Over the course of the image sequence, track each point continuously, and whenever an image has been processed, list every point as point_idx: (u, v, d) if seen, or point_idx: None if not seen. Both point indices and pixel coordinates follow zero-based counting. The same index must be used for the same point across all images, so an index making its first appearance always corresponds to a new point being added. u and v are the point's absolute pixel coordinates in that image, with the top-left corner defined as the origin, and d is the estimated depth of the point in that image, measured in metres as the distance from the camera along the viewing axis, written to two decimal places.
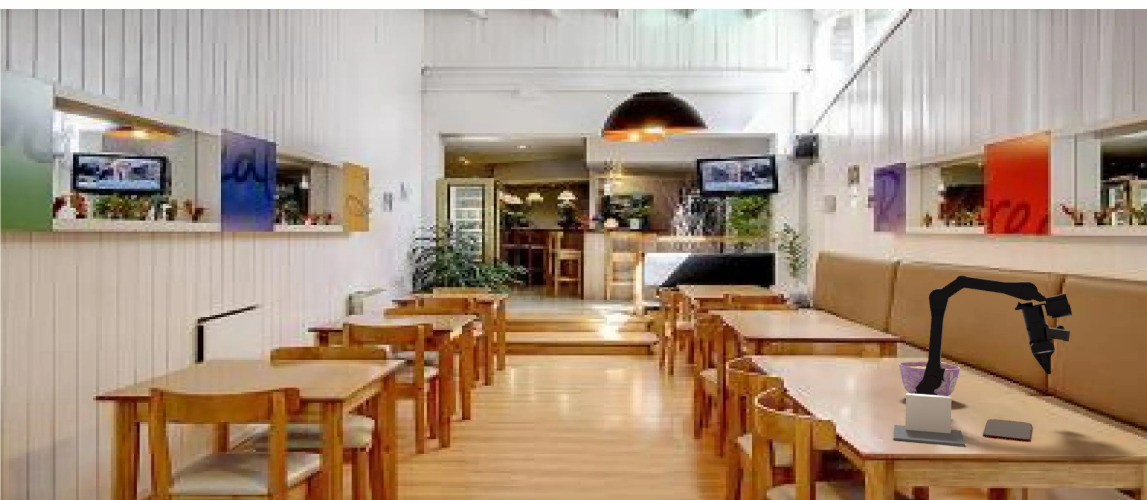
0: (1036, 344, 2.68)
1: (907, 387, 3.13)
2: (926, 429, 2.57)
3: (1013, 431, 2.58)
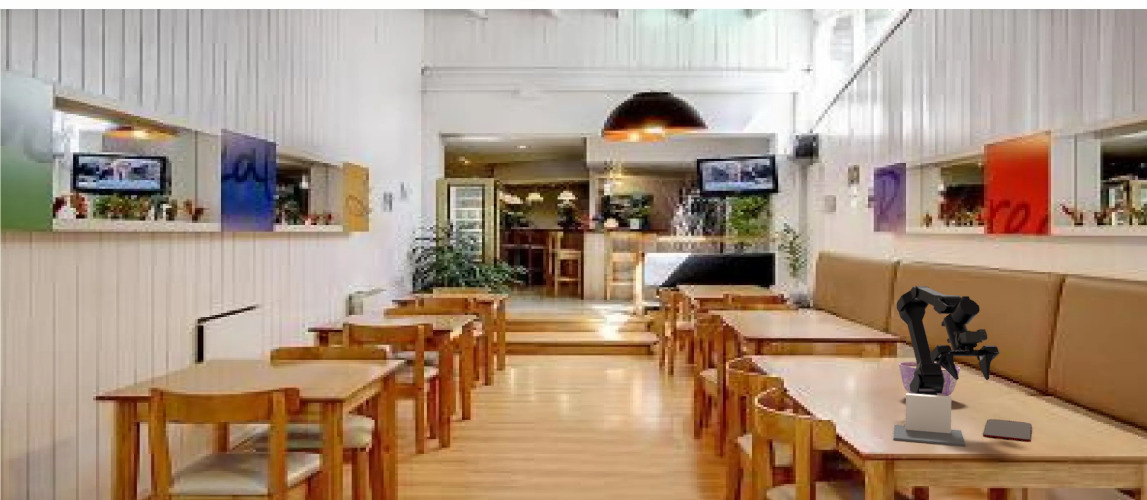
0: None
1: (907, 387, 3.13)
2: (926, 429, 2.57)
3: (1013, 431, 2.58)
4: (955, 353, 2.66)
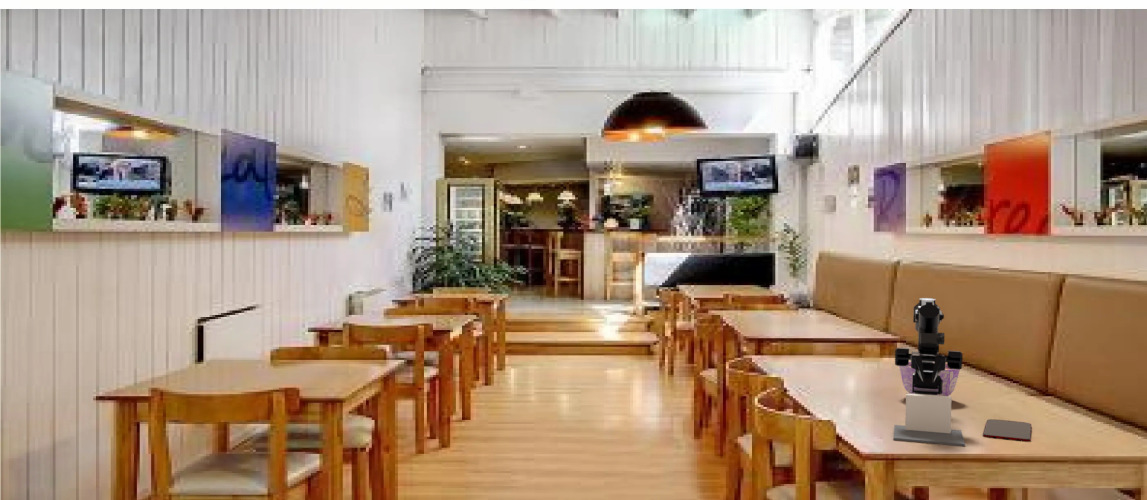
0: None
1: (907, 387, 3.13)
2: (926, 429, 2.57)
3: (1013, 431, 2.58)
4: None
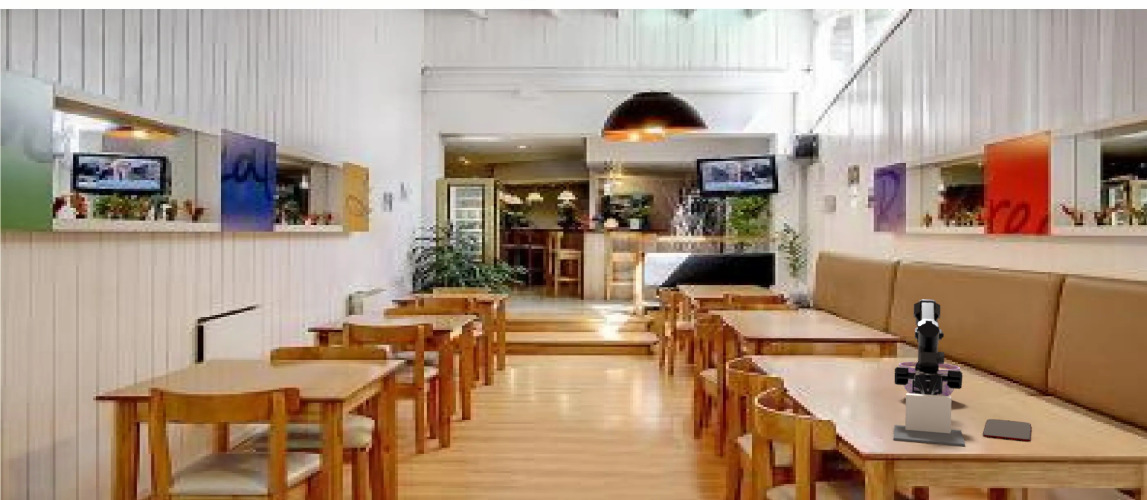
0: None
1: (907, 387, 3.13)
2: (926, 429, 2.57)
3: (1013, 431, 2.58)
4: None
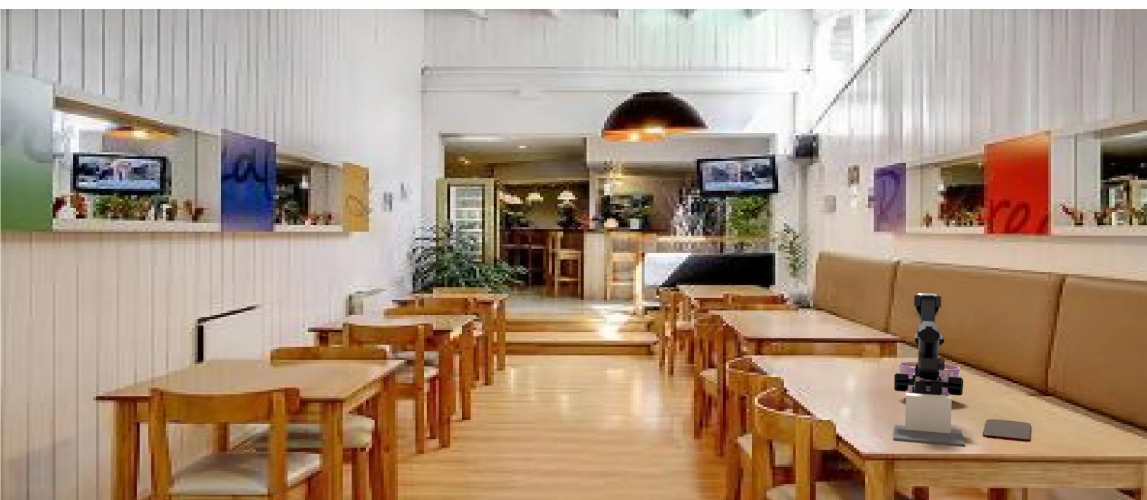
0: None
1: None
2: (926, 429, 2.57)
3: (1012, 431, 2.58)
4: None
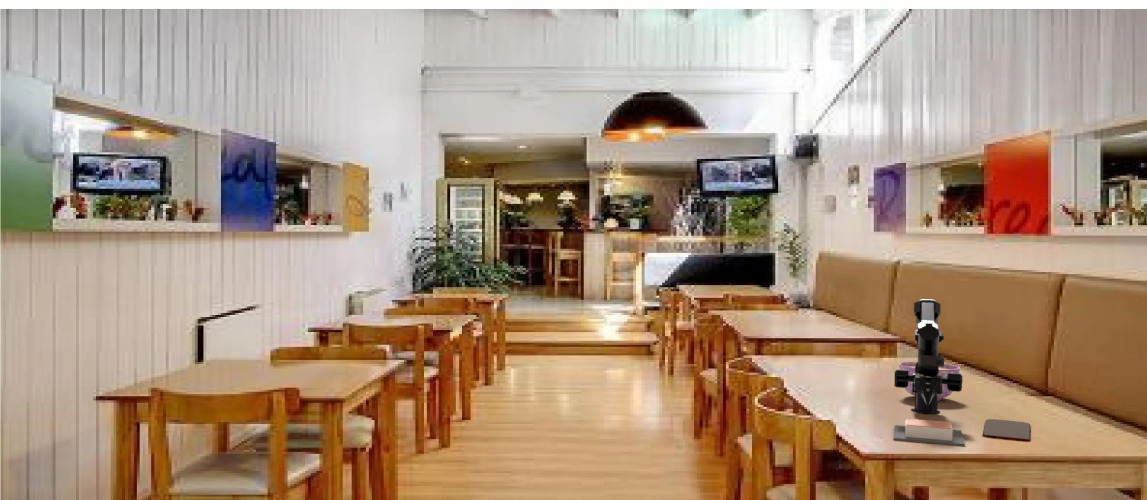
0: None
1: (907, 387, 3.13)
2: None
3: (1012, 431, 2.58)
4: None
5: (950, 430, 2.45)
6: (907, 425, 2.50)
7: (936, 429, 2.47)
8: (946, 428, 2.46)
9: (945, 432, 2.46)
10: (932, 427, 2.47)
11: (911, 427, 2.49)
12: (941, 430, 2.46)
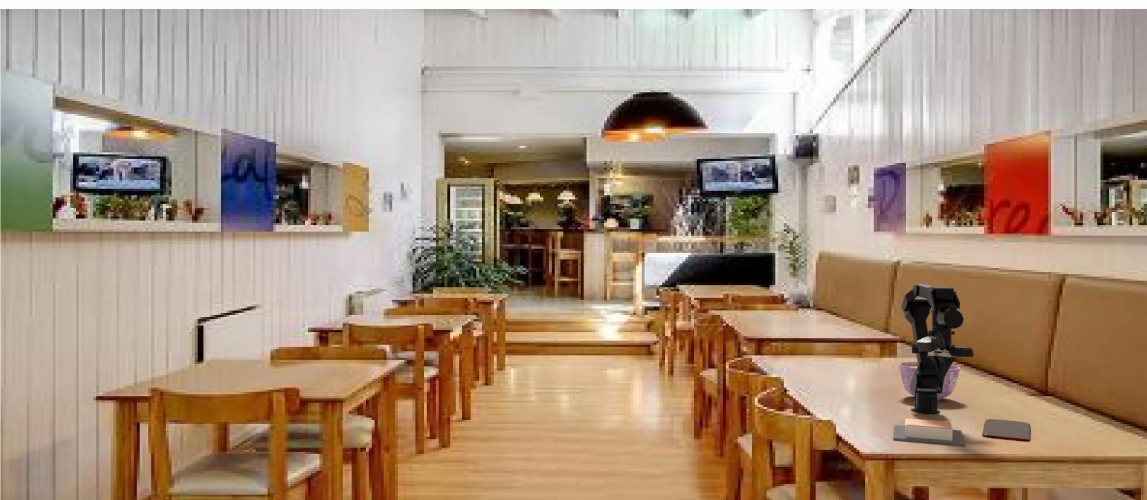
0: None
1: (907, 387, 3.13)
2: None
3: (1012, 431, 2.58)
4: None
5: (950, 430, 2.45)
6: (907, 425, 2.50)
7: (936, 429, 2.47)
8: (946, 428, 2.46)
9: (945, 432, 2.46)
10: (932, 427, 2.47)
11: (911, 427, 2.49)
12: (941, 430, 2.46)
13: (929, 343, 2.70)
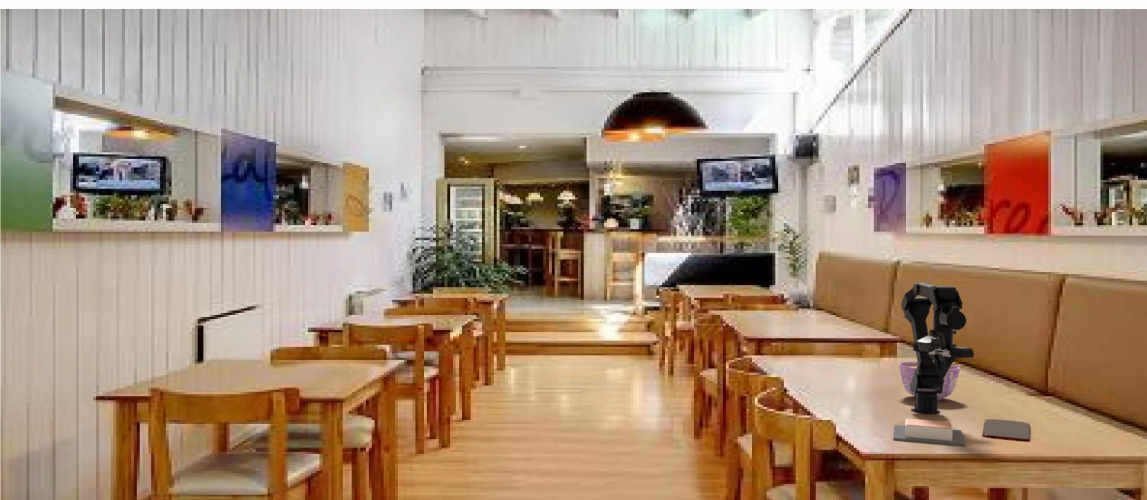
0: None
1: (907, 387, 3.13)
2: None
3: (1012, 431, 2.58)
4: None
5: (950, 430, 2.45)
6: (907, 425, 2.50)
7: (936, 429, 2.47)
8: (946, 428, 2.46)
9: (945, 432, 2.46)
10: (932, 427, 2.47)
11: (911, 427, 2.49)
12: (941, 430, 2.46)
13: (929, 343, 2.71)
